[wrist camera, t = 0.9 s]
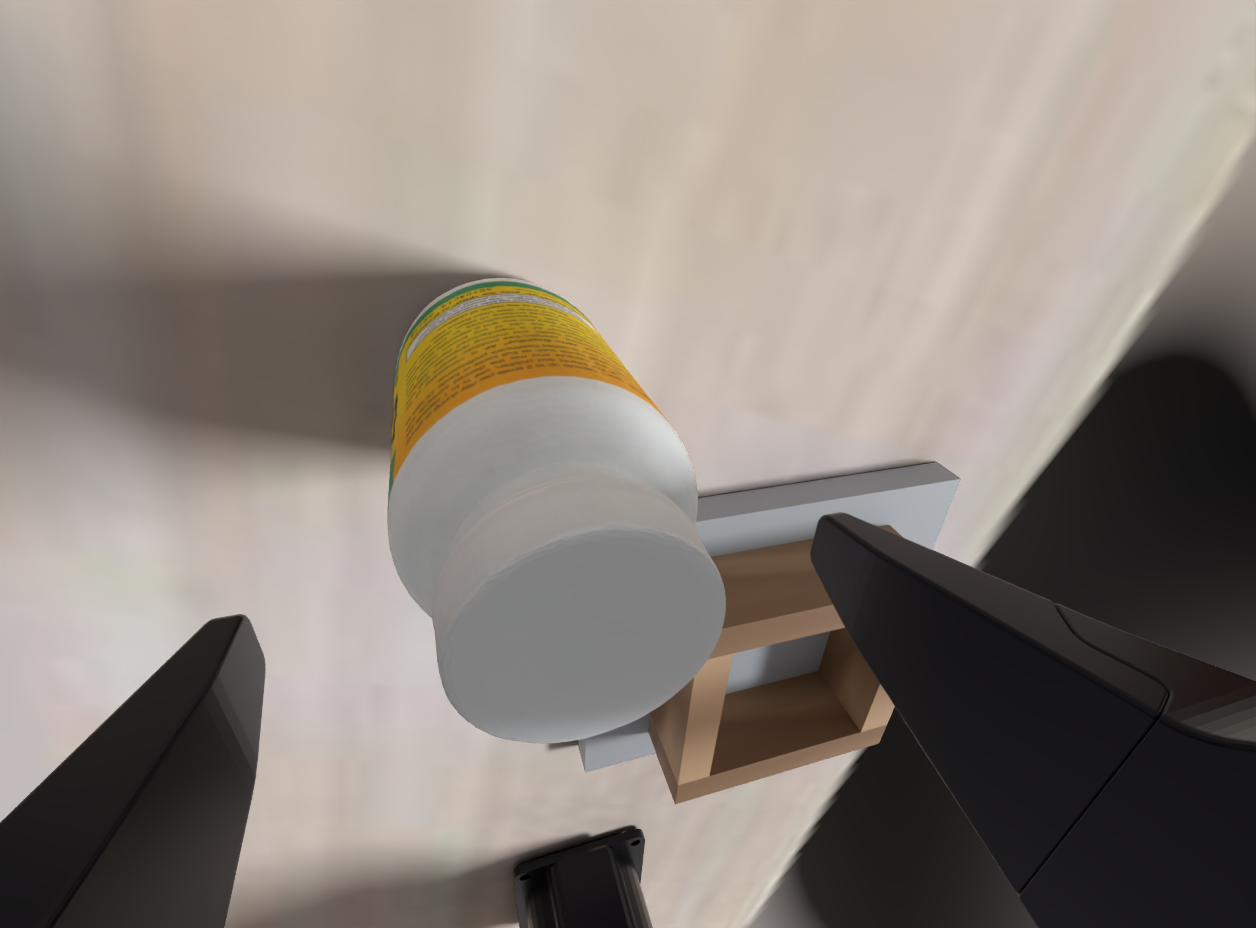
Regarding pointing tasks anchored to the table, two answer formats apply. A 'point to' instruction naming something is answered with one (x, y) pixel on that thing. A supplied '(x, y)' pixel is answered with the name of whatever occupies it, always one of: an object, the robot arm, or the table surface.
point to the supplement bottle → (544, 518)
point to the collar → (775, 712)
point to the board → (783, 517)
